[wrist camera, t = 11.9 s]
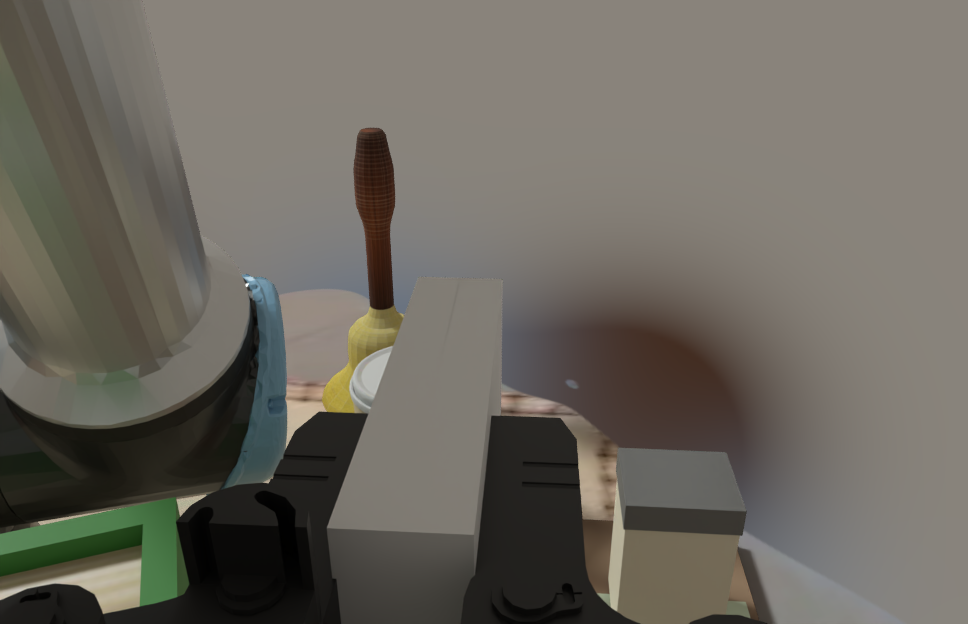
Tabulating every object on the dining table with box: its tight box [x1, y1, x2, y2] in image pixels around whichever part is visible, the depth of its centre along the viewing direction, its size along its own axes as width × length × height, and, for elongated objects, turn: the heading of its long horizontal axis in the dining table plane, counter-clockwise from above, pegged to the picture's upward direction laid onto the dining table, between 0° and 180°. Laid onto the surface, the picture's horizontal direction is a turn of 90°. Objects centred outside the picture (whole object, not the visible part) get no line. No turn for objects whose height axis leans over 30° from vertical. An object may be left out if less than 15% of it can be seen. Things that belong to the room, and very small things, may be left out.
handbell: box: [322, 128, 404, 413], centre depth 69 cm, size 12×12×25 cm
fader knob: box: [608, 448, 747, 624], centre depth 45 cm, size 5×6×10 cm
